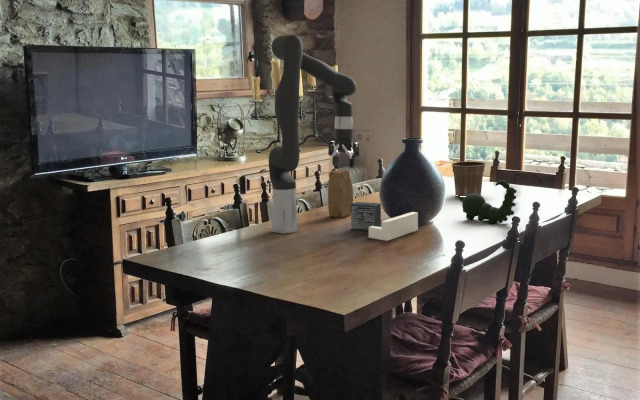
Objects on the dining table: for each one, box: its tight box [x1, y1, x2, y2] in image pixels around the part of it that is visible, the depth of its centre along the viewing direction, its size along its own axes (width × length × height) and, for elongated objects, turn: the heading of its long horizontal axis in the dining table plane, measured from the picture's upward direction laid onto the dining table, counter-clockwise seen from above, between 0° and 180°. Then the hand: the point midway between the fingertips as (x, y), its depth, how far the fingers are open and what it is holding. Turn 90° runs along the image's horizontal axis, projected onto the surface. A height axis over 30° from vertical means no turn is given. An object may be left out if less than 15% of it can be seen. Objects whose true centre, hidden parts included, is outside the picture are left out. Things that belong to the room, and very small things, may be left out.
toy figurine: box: [457, 180, 517, 224], centre depth 279 cm, size 9×19×25 cm
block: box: [327, 168, 354, 219], centre depth 295 cm, size 11×8×20 cm
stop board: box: [368, 211, 419, 241], centre depth 262 cm, size 20×8×7 cm, turn 139°
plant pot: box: [450, 160, 486, 196], centre depth 334 cm, size 16×16×16 cm
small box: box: [350, 201, 382, 232], centre depth 270 cm, size 11×6×10 cm, turn 65°
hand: (343, 166), depth 284 cm, fingers open, 8 cm apart
